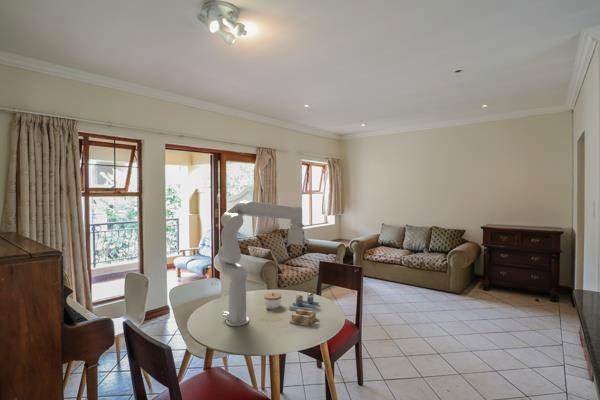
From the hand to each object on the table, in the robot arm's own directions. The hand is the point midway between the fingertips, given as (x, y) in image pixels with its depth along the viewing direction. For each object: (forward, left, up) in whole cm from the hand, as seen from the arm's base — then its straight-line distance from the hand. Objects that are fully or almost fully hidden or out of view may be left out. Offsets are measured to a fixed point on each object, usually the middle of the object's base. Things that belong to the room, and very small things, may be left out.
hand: (296, 253), depth 188 cm
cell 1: (+5, -7, -32) cm, 33 cm away
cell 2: (+10, -1, -32) cm, 34 cm away
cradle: (+12, -21, -33) cm, 41 cm away
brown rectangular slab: (+12, -21, -32) cm, 40 cm away
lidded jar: (-12, -9, -34) cm, 37 cm away
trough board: (+7, -4, -33) cm, 34 cm away
